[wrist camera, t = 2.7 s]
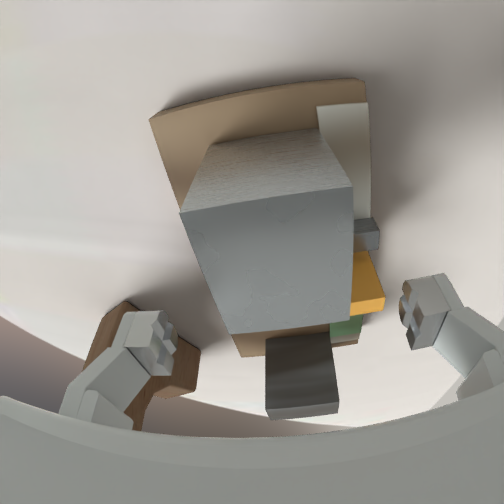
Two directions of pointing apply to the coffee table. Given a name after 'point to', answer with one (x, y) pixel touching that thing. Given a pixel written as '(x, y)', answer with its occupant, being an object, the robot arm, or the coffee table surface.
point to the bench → (359, 173)
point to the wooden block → (159, 386)
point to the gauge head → (276, 231)
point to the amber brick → (365, 286)
